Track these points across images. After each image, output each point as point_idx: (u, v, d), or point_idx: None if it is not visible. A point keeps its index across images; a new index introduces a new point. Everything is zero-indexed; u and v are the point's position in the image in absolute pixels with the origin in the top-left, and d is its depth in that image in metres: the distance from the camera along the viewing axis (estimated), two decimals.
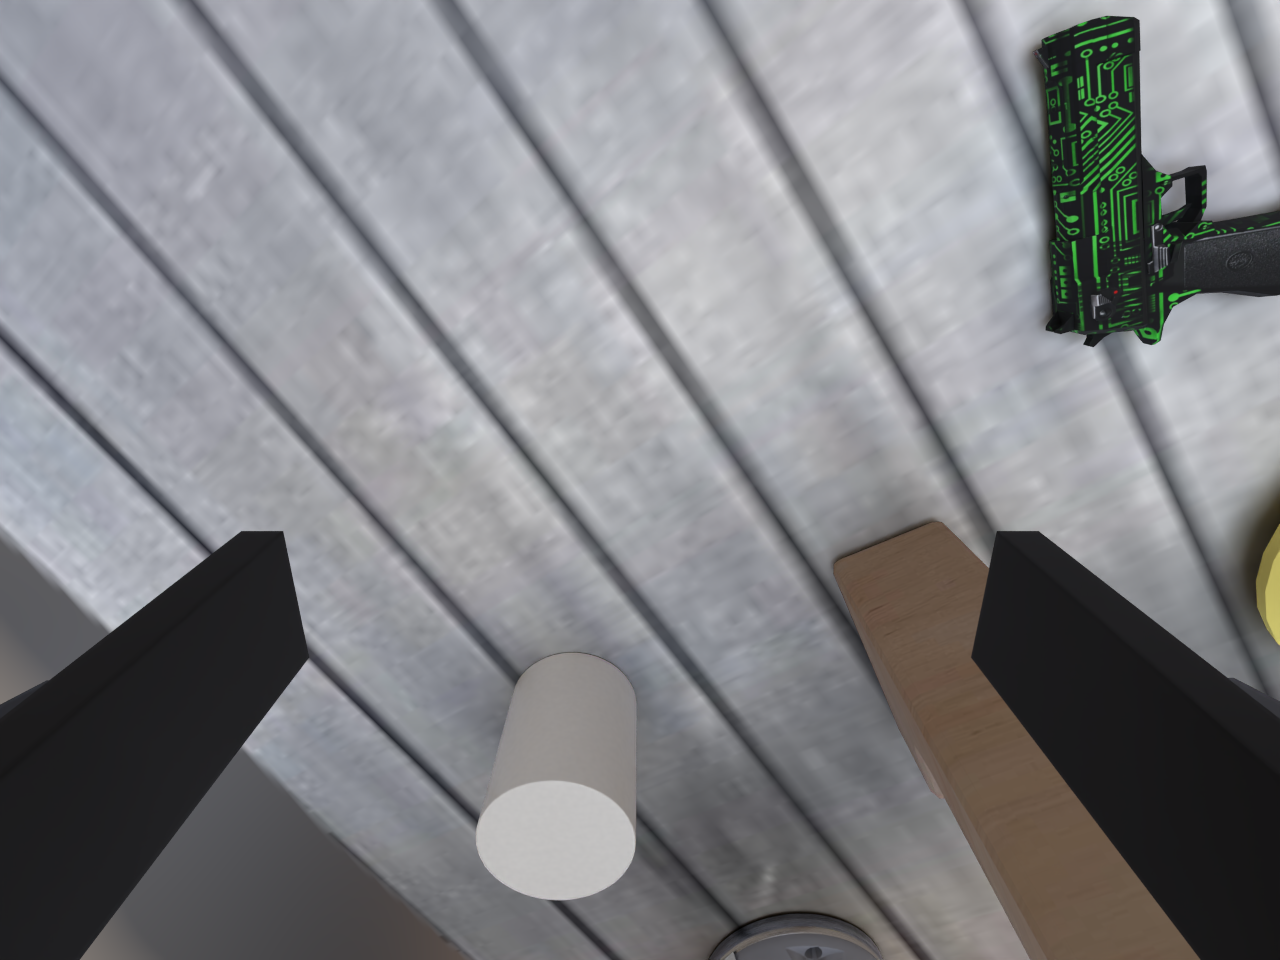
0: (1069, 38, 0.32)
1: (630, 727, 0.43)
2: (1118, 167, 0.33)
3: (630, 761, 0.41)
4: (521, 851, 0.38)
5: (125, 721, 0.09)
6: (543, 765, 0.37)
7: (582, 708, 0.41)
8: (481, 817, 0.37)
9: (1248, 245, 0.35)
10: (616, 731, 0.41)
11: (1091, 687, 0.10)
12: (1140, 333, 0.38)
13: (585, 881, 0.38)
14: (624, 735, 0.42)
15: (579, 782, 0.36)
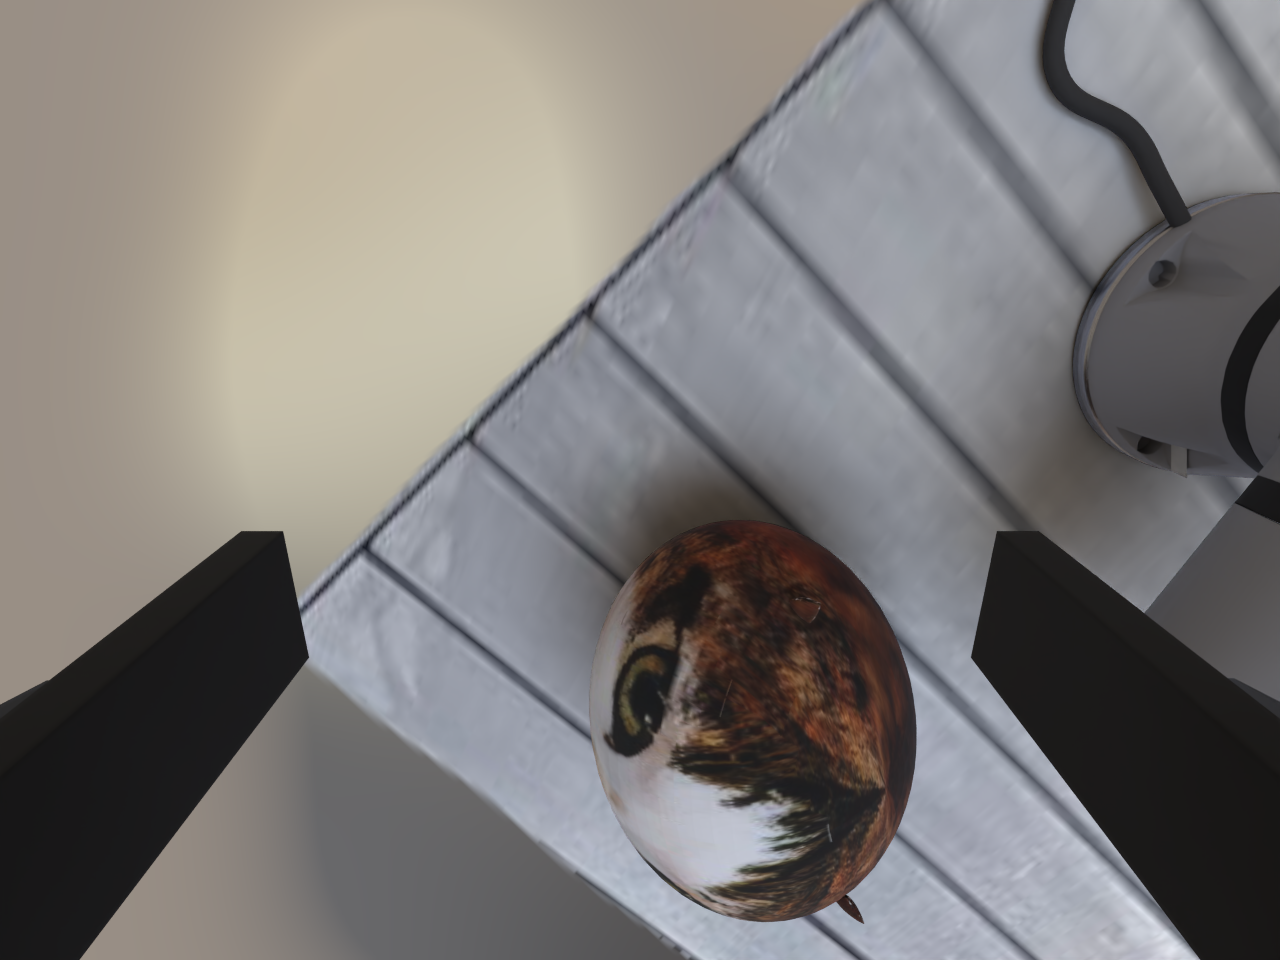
0: None
1: None
2: None
3: None
4: None
5: (125, 721, 0.08)
6: None
7: None
8: None
9: None
10: None
11: (1091, 687, 0.10)
12: None
13: None
14: None
15: None
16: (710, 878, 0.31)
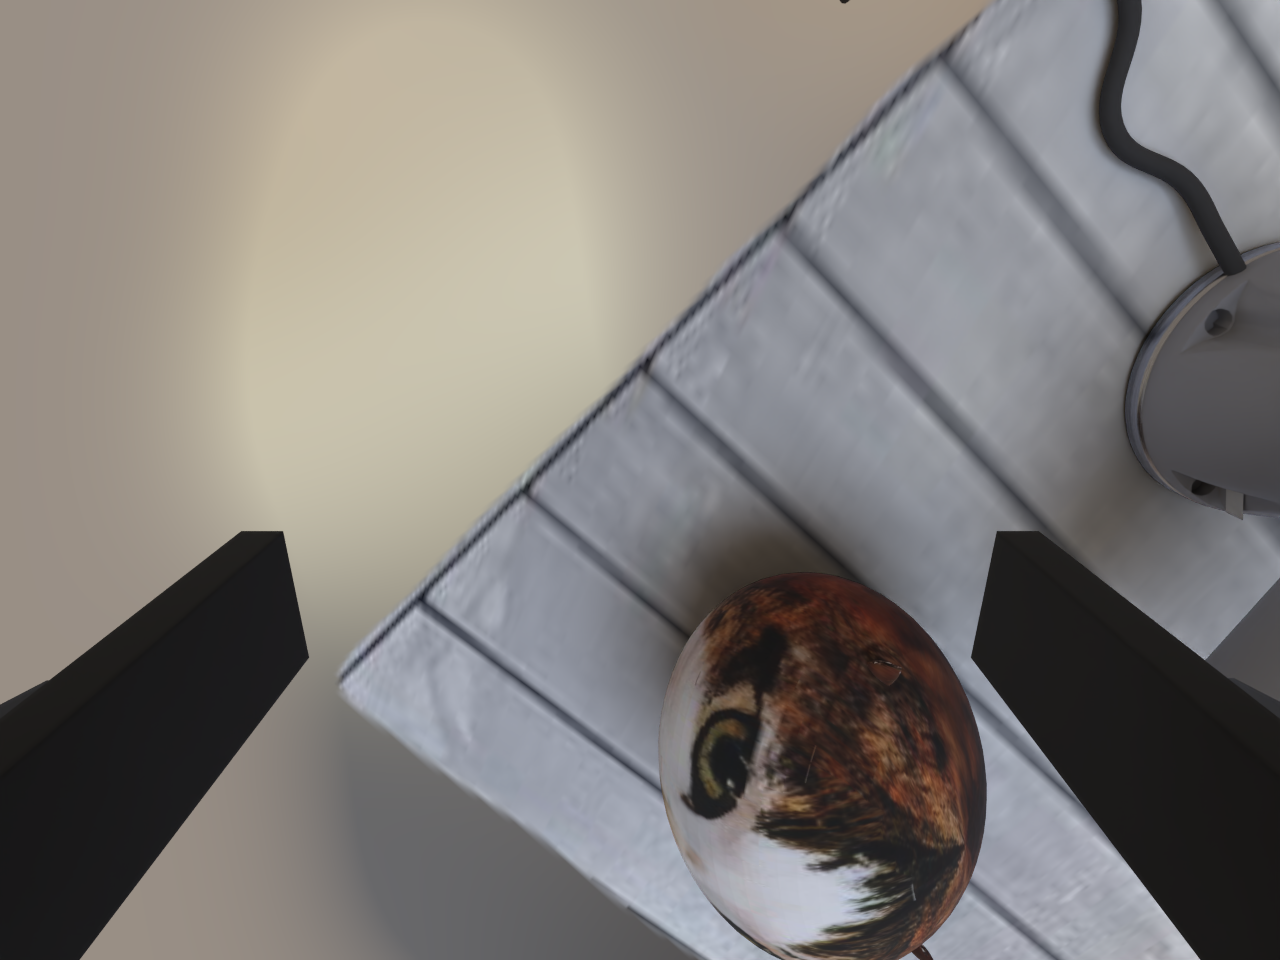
0: None
1: None
2: None
3: None
4: None
5: (125, 721, 0.08)
6: None
7: None
8: None
9: None
10: None
11: (1091, 687, 0.10)
12: None
13: None
14: None
15: None
16: (794, 937, 0.32)
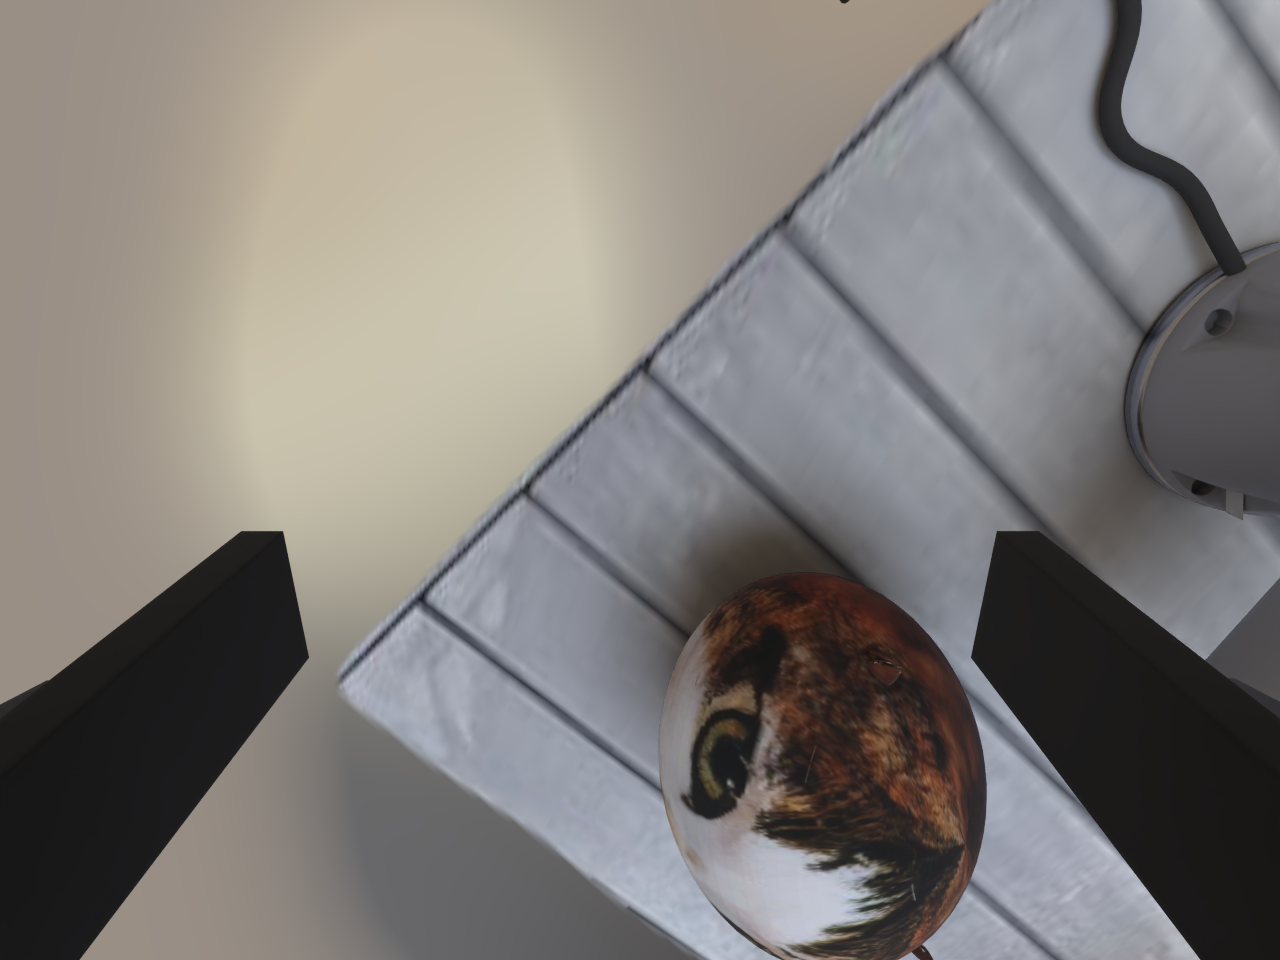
0: None
1: None
2: None
3: None
4: None
5: (125, 721, 0.08)
6: None
7: None
8: None
9: None
10: None
11: (1091, 687, 0.10)
12: None
13: None
14: None
15: None
16: (794, 937, 0.32)
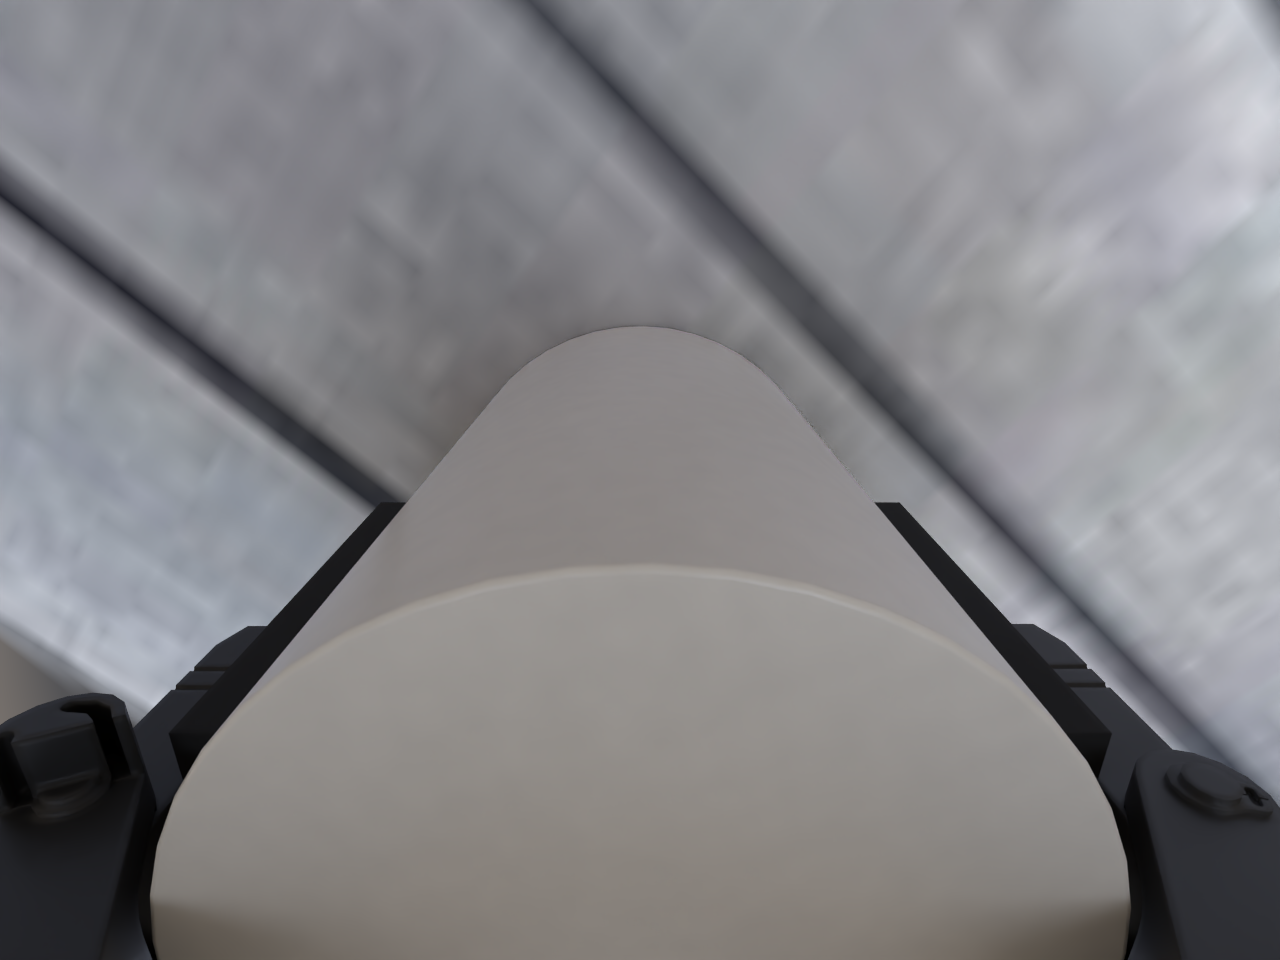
0: None
1: (821, 439, 0.12)
2: None
3: None
4: None
5: None
6: (401, 559, 0.06)
7: (612, 380, 0.10)
8: None
9: None
10: (772, 418, 0.10)
11: None
12: None
13: None
14: (809, 437, 0.10)
15: (624, 559, 0.05)
16: None
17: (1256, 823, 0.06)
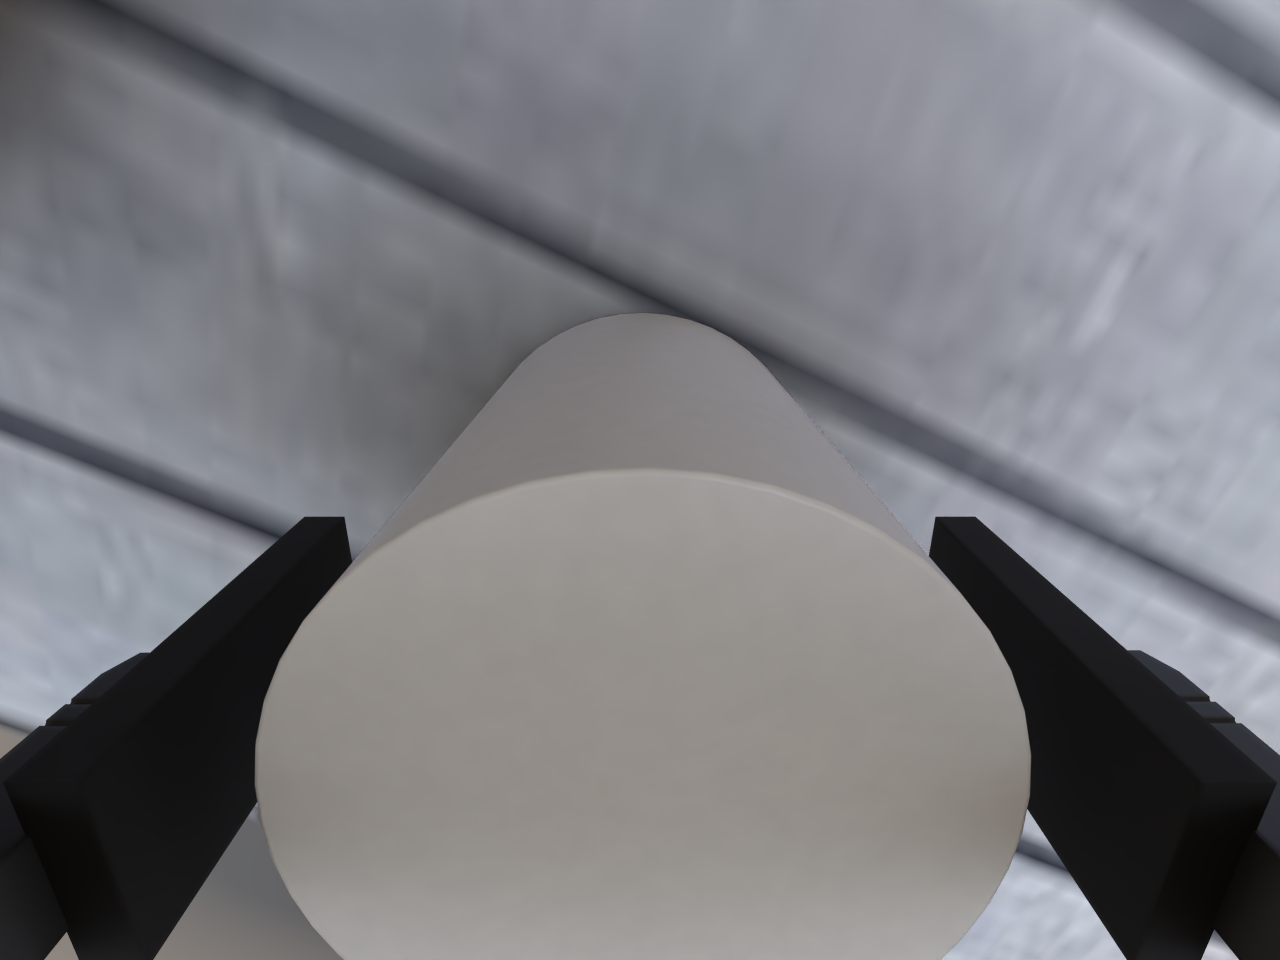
0: None
1: (801, 409, 0.13)
2: None
3: None
4: (511, 908, 0.08)
5: (221, 688, 0.09)
6: (453, 479, 0.07)
7: (617, 353, 0.12)
8: (261, 805, 0.08)
9: None
10: (756, 386, 0.11)
11: (1009, 660, 0.10)
12: None
13: (836, 958, 0.09)
14: (789, 403, 0.12)
15: (631, 466, 0.06)
16: None
17: None
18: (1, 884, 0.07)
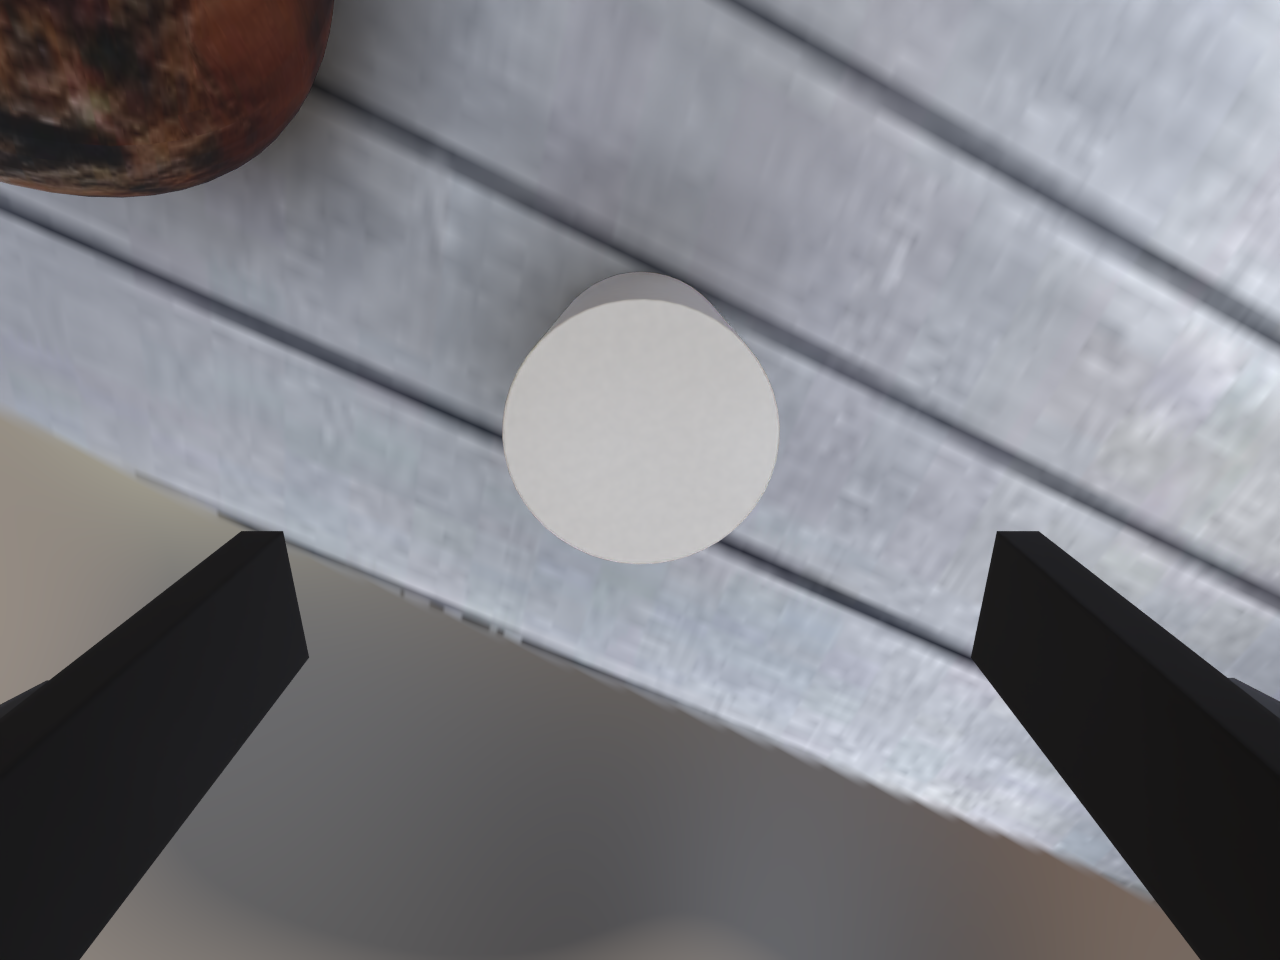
0: None
1: None
2: None
3: None
4: (591, 479, 0.22)
5: (125, 721, 0.08)
6: (574, 312, 0.21)
7: (629, 282, 0.26)
8: (503, 431, 0.21)
9: None
10: (692, 295, 0.25)
11: (1091, 687, 0.10)
12: None
13: (715, 504, 0.22)
14: (708, 305, 0.26)
15: (637, 298, 0.20)
16: None
17: None
18: None
